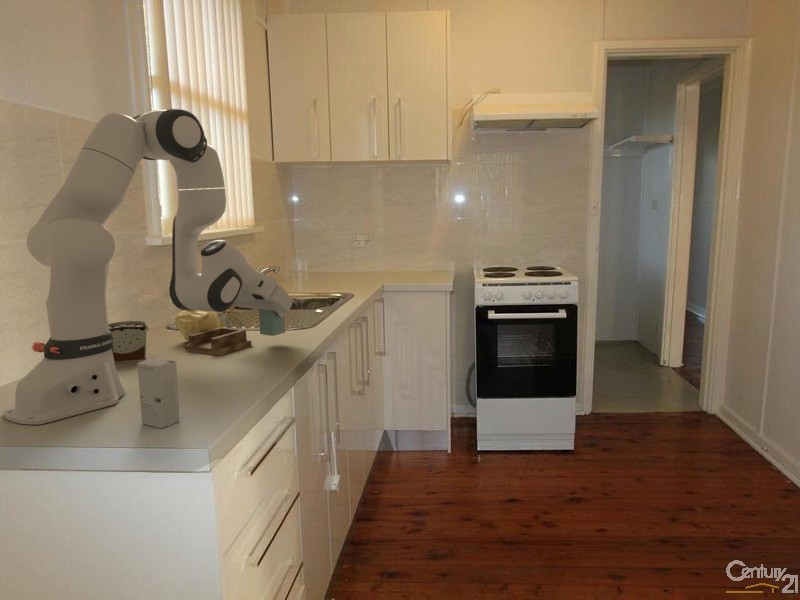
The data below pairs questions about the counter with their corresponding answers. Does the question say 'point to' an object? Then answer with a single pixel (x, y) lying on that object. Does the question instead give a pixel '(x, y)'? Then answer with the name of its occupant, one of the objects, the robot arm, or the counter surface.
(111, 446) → the counter surface
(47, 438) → the counter surface
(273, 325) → the tin
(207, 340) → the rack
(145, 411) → the skincare box
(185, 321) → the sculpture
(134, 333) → the food container
